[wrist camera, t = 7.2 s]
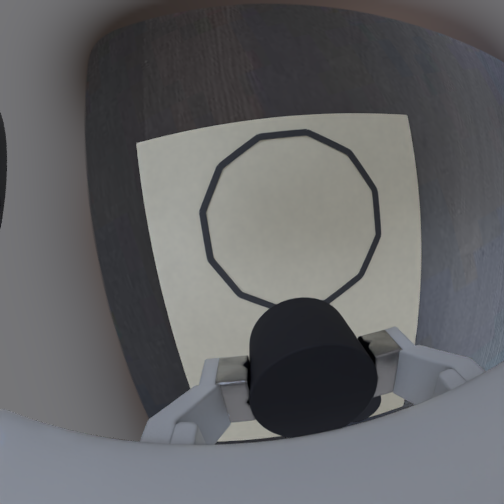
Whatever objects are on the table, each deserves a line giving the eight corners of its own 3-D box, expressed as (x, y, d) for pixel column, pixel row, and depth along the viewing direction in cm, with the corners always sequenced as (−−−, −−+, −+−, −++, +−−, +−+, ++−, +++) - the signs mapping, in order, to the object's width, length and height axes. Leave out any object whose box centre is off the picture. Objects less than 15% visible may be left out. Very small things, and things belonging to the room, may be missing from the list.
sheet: (210, 438, 26) (210, 442, 25) (138, 144, 19) (135, 143, 19) (400, 403, 25) (403, 406, 25) (403, 116, 19) (407, 114, 18)
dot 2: (256, 386, 11) (258, 445, 8) (242, 305, 10) (238, 356, 7) (345, 370, 11) (371, 423, 8) (345, 288, 10) (383, 330, 7)
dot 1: (330, 403, 24) (338, 427, 21) (330, 373, 23) (340, 397, 20) (367, 394, 24) (378, 415, 21) (370, 364, 23) (384, 385, 20)
